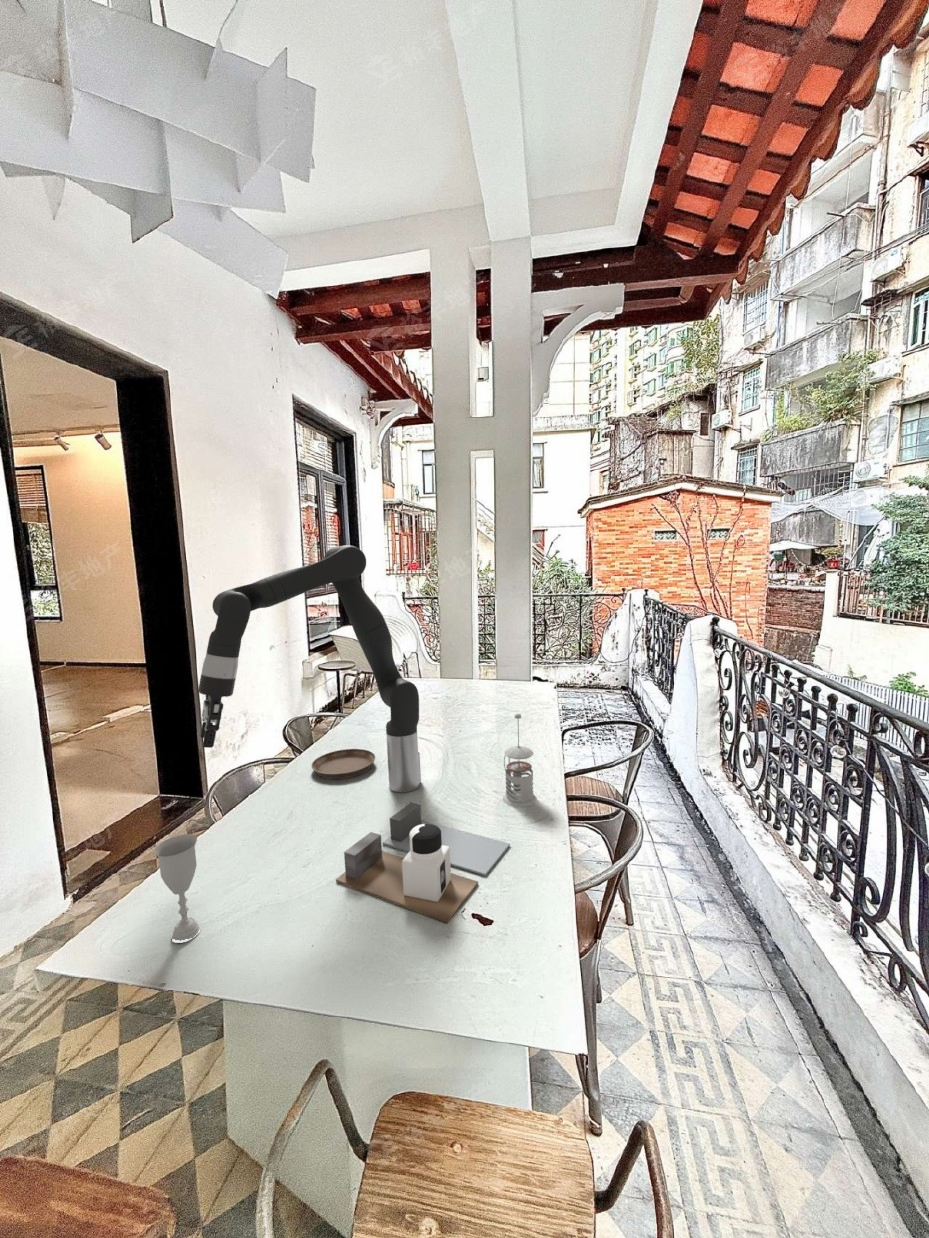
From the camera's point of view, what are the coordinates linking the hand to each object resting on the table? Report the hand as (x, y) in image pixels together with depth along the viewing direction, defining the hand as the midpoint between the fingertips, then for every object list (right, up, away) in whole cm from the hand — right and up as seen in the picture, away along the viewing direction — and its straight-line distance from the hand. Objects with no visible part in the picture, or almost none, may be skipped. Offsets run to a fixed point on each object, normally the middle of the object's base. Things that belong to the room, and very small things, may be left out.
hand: (206, 742), depth 121 cm
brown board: (+48, -28, -11) cm, 57 cm away
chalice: (+8, -31, -24) cm, 40 cm away
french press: (+76, -22, +26) cm, 83 cm away
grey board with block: (+56, -26, +3) cm, 62 cm away
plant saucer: (+21, -21, +50) cm, 58 cm away
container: (+53, -27, -14) cm, 61 cm away
